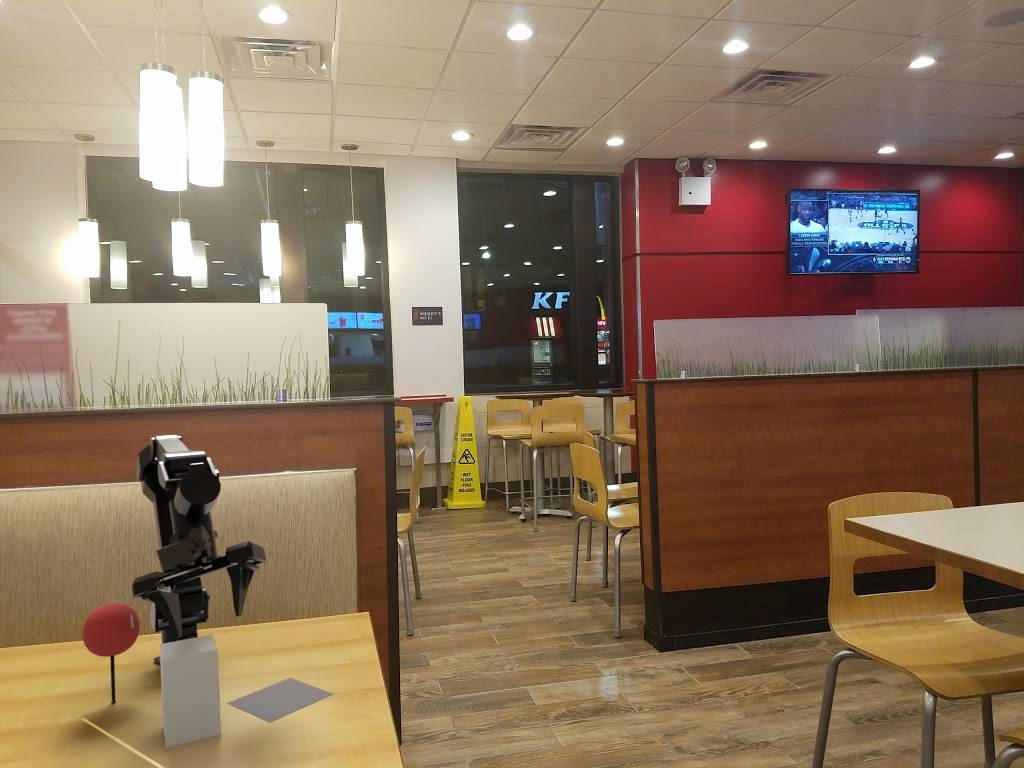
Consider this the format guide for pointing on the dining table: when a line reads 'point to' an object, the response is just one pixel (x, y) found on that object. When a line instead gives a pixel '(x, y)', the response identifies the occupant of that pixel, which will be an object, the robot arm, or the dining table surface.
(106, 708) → the dining table surface
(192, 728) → the cover
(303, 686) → the mat
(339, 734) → the dining table surface
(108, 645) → the lollipop
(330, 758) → the dining table surface
